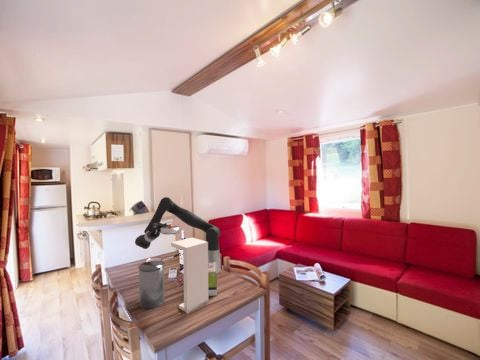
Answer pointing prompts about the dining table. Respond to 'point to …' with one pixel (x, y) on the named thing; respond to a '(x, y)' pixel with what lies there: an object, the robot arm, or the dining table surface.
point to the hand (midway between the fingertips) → (163, 225)
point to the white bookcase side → (194, 272)
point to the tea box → (212, 279)
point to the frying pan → (159, 258)
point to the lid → (167, 228)
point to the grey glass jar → (151, 284)
